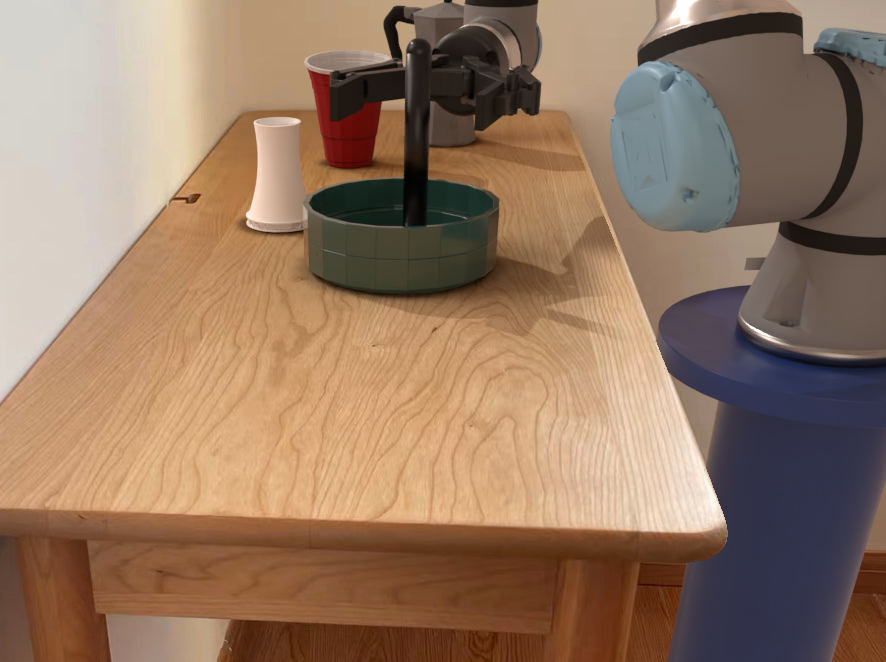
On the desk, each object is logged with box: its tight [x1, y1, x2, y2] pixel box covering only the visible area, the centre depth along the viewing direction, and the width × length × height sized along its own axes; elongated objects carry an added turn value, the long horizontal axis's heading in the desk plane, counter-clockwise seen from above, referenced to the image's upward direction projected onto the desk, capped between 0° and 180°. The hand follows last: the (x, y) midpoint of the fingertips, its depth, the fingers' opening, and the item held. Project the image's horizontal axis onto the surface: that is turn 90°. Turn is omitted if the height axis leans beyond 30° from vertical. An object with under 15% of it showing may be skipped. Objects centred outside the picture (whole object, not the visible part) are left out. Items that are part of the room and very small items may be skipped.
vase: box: [245, 116, 308, 233], centre depth 118 cm, size 8×8×10 cm
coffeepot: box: [382, 0, 477, 148], centre depth 149 cm, size 15×9×18 cm, turn 66°
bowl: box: [302, 176, 501, 295], centre depth 107 cm, size 18×18×6 cm
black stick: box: [403, 37, 432, 227], centre depth 100 cm, size 4×4×19 cm
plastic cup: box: [303, 49, 392, 169], centre depth 140 cm, size 11×11×12 cm
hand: (405, 108), depth 95 cm, fingers open, 12 cm apart
